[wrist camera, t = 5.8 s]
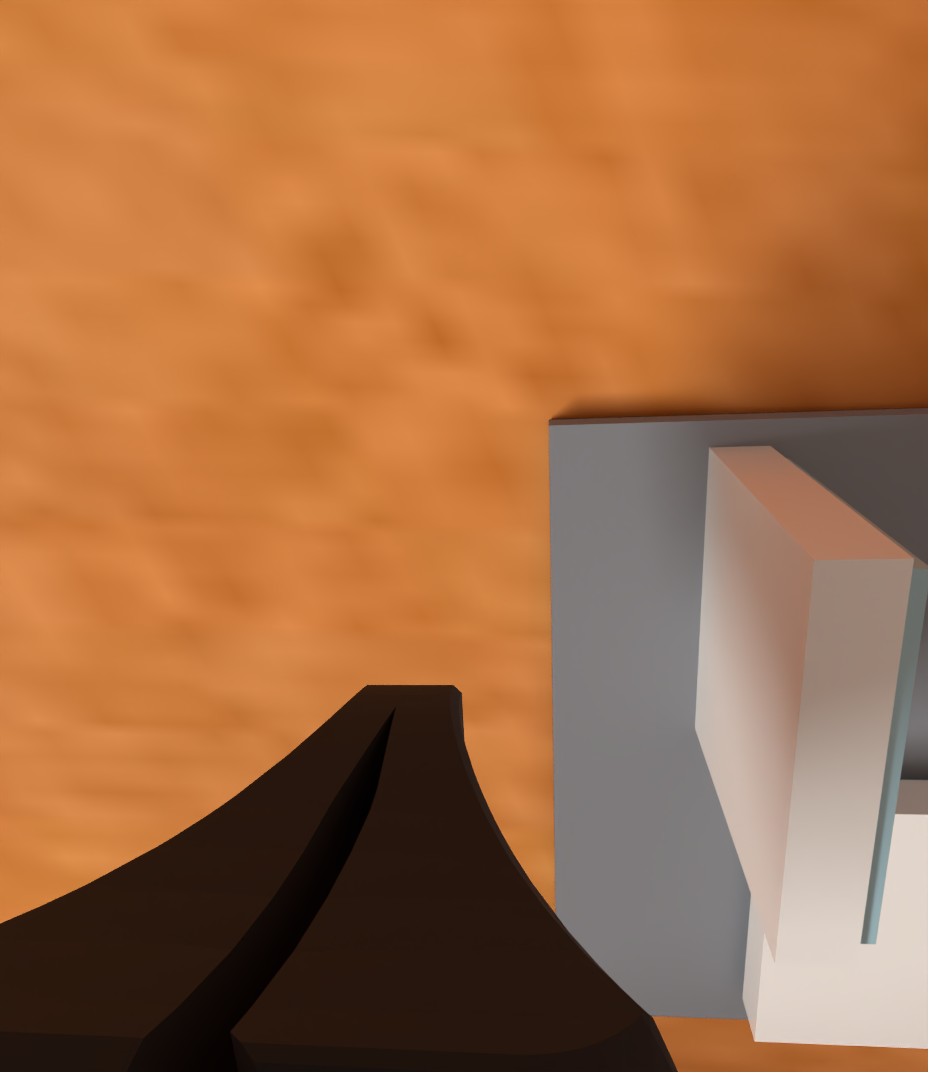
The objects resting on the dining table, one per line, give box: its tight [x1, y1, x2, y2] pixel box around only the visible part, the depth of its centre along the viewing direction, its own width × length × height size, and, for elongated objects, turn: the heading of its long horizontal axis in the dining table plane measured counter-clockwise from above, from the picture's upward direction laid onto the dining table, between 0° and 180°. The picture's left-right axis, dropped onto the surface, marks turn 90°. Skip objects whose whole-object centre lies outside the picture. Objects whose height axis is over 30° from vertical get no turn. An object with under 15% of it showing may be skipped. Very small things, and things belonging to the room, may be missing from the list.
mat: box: [549, 408, 928, 1020], centre depth 17 cm, size 14×13×1 cm
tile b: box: [695, 446, 928, 967], centre depth 13 cm, size 6×1×6 cm, turn 3°
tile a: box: [742, 779, 928, 1049], centre depth 17 cm, size 6×1×6 cm
